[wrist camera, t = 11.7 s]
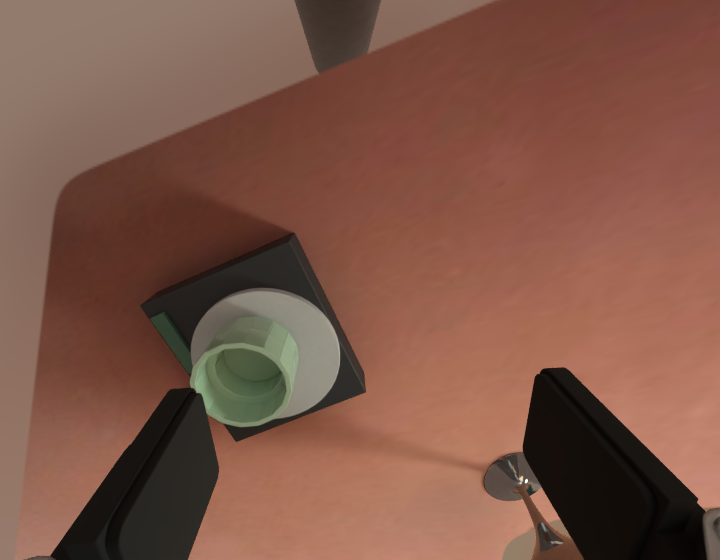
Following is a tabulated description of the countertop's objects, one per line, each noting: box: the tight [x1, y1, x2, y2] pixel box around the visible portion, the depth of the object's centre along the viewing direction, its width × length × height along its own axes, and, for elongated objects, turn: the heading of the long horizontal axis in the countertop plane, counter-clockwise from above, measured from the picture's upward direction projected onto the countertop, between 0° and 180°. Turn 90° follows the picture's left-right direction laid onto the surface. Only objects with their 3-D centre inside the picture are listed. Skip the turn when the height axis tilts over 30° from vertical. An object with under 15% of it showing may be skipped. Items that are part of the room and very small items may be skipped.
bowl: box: [190, 316, 299, 427], centre depth 26 cm, size 7×7×5 cm
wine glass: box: [484, 453, 584, 560], centre depth 33 cm, size 8×8×15 cm
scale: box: [140, 233, 366, 442], centre depth 31 cm, size 15×13×4 cm
